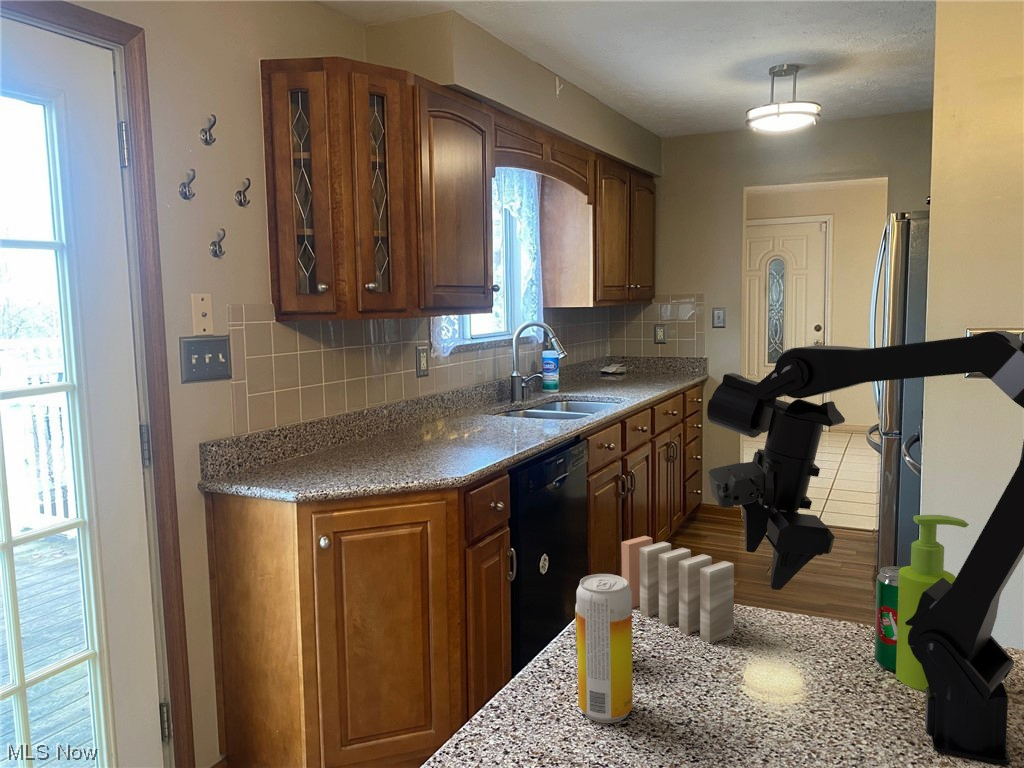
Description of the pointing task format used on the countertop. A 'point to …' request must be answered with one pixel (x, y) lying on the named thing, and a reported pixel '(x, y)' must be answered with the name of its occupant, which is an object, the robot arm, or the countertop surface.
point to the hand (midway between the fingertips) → (762, 569)
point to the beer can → (604, 647)
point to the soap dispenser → (919, 591)
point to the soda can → (886, 617)
